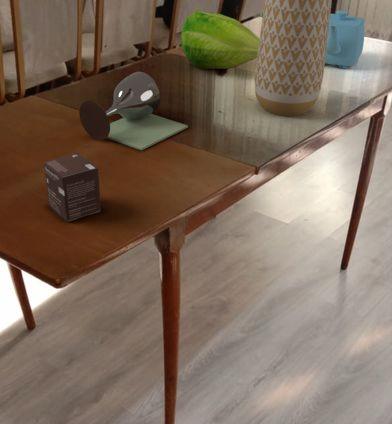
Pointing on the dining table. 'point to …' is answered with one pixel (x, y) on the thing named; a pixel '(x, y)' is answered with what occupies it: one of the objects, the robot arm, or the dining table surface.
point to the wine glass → (122, 104)
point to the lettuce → (217, 41)
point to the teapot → (344, 39)
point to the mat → (143, 131)
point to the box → (72, 186)
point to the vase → (291, 55)
